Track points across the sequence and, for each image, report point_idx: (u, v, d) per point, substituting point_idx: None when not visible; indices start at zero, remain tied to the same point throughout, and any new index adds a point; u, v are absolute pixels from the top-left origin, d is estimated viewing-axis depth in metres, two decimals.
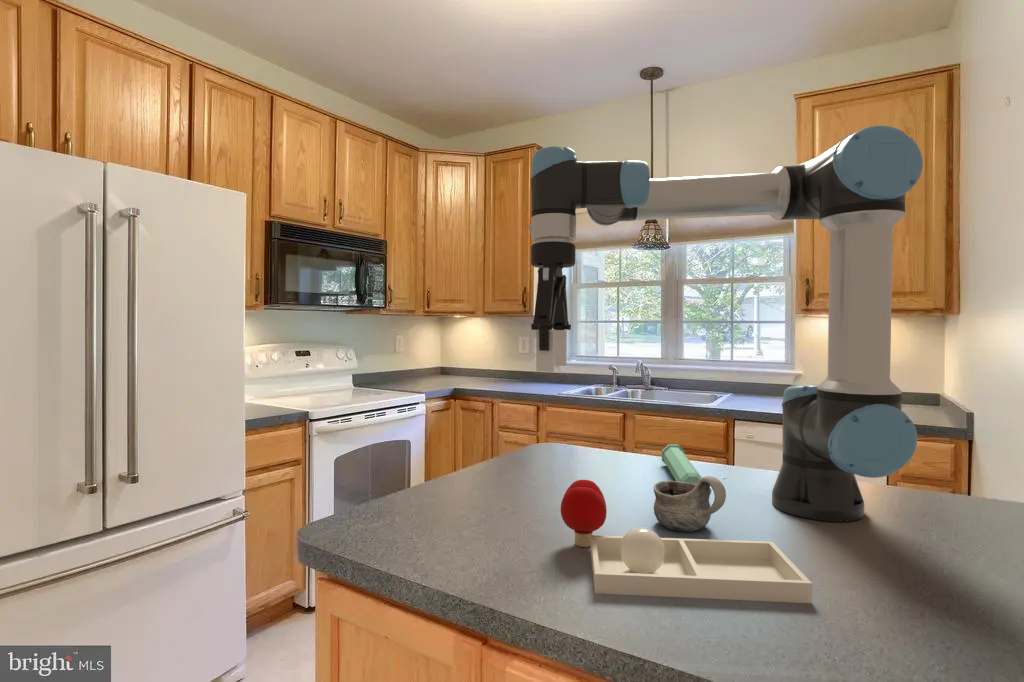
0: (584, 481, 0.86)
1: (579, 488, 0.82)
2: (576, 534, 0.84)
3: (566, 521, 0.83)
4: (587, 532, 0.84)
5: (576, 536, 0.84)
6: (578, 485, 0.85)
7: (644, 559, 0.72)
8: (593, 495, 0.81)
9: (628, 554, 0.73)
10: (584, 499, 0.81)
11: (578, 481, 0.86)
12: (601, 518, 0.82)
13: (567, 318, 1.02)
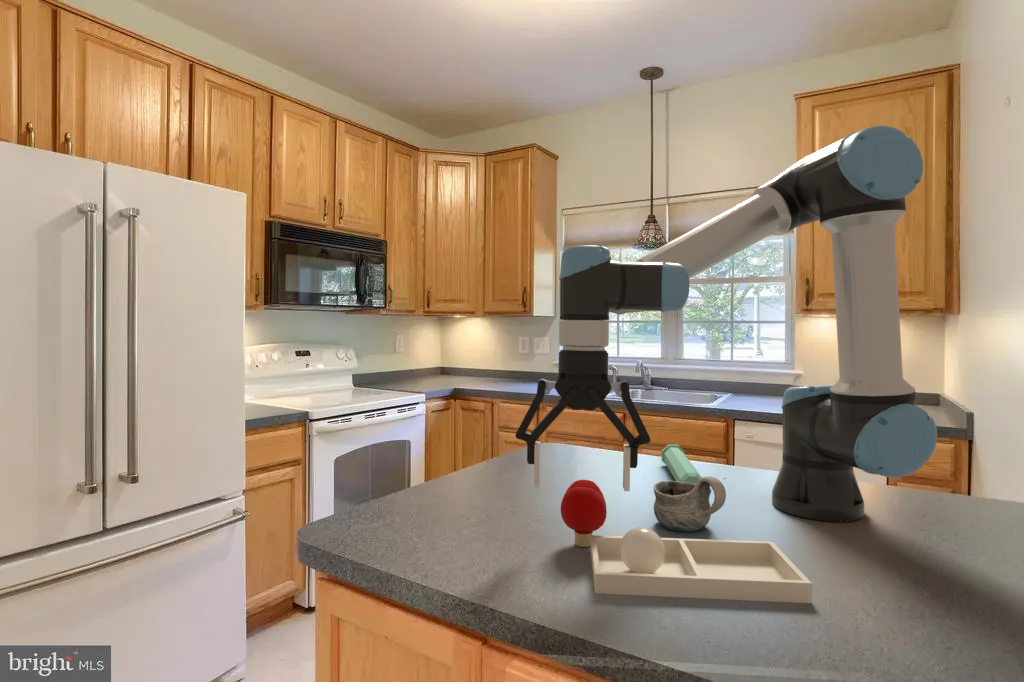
0: (584, 481, 0.86)
1: (579, 488, 0.82)
2: (576, 534, 0.84)
3: (566, 521, 0.83)
4: (587, 532, 0.84)
5: (576, 536, 0.84)
6: (578, 485, 0.85)
7: (644, 559, 0.72)
8: (593, 495, 0.81)
9: (628, 554, 0.73)
10: (584, 499, 0.81)
11: (578, 481, 0.86)
12: (601, 518, 0.82)
13: (644, 434, 0.82)
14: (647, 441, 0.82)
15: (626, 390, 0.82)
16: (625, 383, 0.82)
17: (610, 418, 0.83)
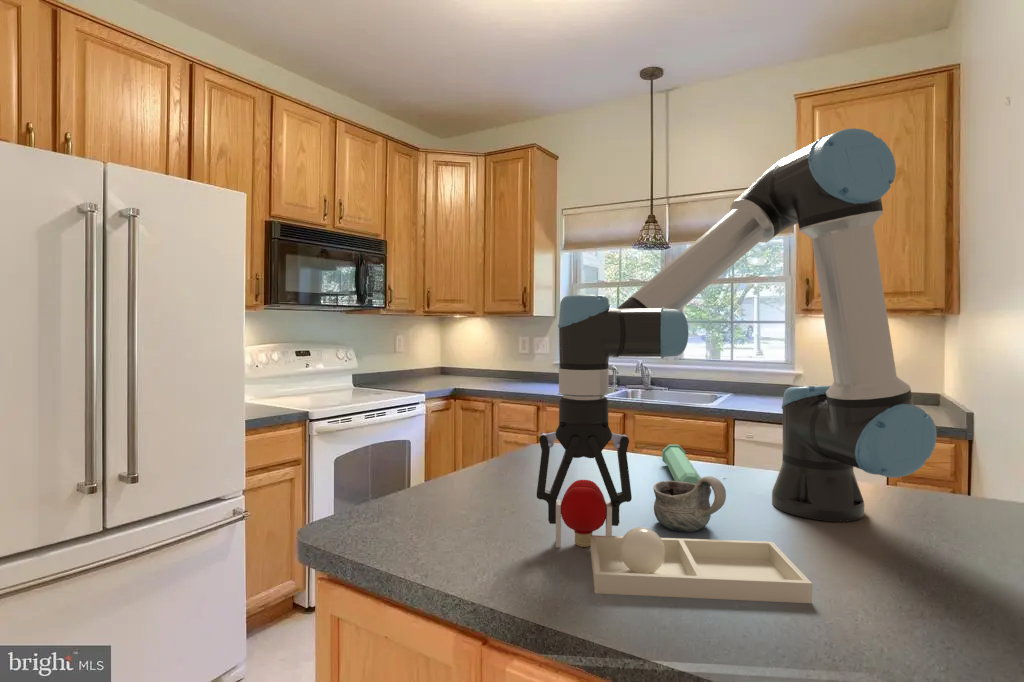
0: (584, 481, 0.86)
1: (579, 488, 0.82)
2: (576, 534, 0.84)
3: (566, 521, 0.83)
4: (587, 532, 0.84)
5: (576, 536, 0.84)
6: (578, 485, 0.85)
7: (644, 559, 0.72)
8: (593, 495, 0.81)
9: (628, 554, 0.73)
10: (584, 499, 0.81)
11: (578, 481, 0.86)
12: (601, 518, 0.82)
13: (627, 492, 0.83)
14: (628, 500, 0.83)
15: (625, 445, 0.83)
16: (626, 438, 0.82)
17: (601, 470, 0.83)
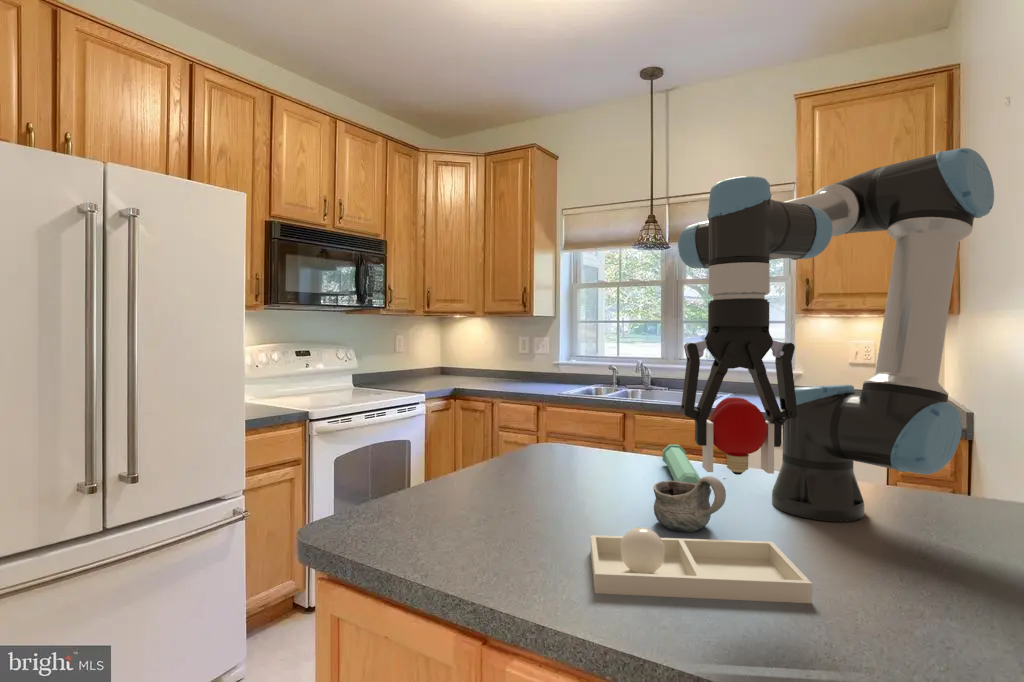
0: (736, 398, 0.75)
1: (737, 402, 0.71)
2: (730, 457, 0.73)
3: (722, 441, 0.71)
4: (744, 454, 0.73)
5: (730, 459, 0.73)
6: (730, 402, 0.74)
7: (644, 559, 0.72)
8: (755, 409, 0.70)
9: (628, 554, 0.73)
10: (747, 413, 0.69)
11: (728, 398, 0.75)
12: (764, 436, 0.70)
13: (792, 407, 0.71)
14: (793, 416, 0.71)
15: (789, 353, 0.71)
16: (791, 345, 0.71)
17: (761, 382, 0.72)
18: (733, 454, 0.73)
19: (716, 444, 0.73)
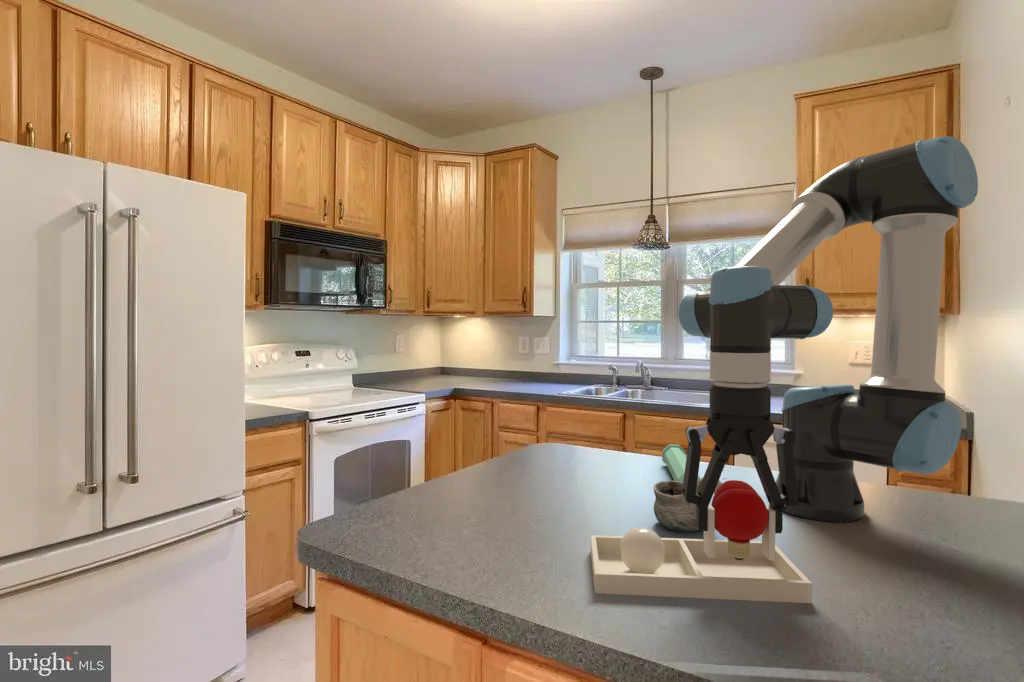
0: (737, 481, 0.75)
1: (739, 490, 0.71)
2: (732, 543, 0.73)
3: (723, 528, 0.72)
4: (745, 541, 0.73)
5: (731, 545, 0.73)
6: (731, 486, 0.74)
7: (644, 559, 0.72)
8: (757, 498, 0.70)
9: (628, 554, 0.73)
10: (748, 503, 0.69)
11: (729, 482, 0.75)
12: (765, 525, 0.71)
13: (793, 494, 0.72)
14: (794, 503, 0.72)
15: (791, 440, 0.72)
16: (792, 432, 0.71)
17: (762, 470, 0.72)
18: (734, 540, 0.73)
19: (717, 529, 0.73)
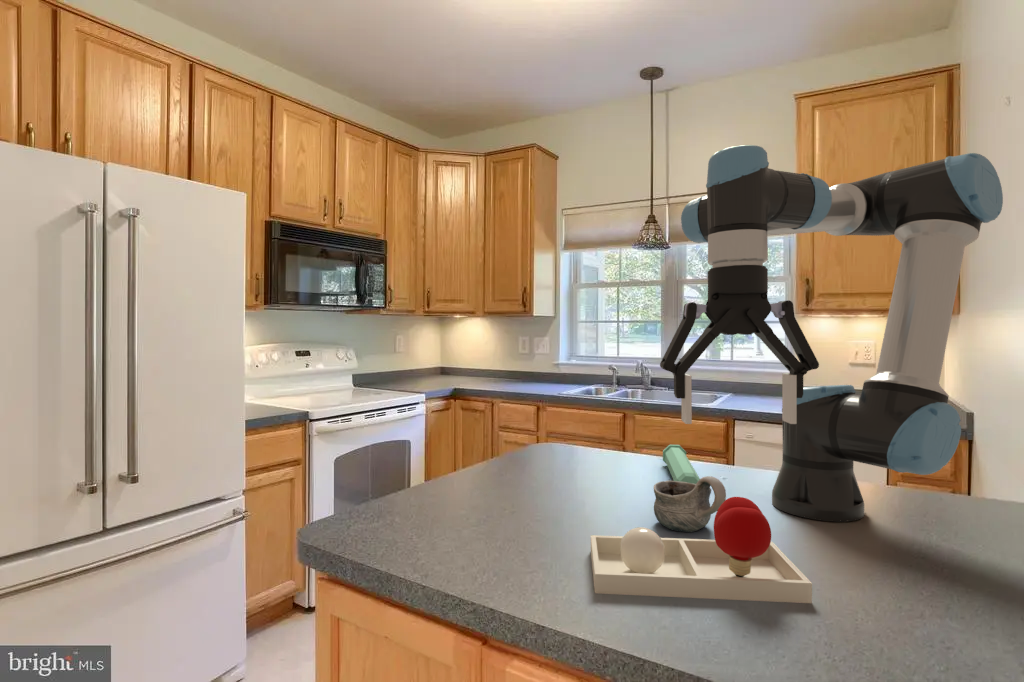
0: (741, 499, 0.75)
1: (744, 509, 0.71)
2: (733, 560, 0.73)
3: (726, 546, 0.71)
4: (747, 558, 0.73)
5: (733, 562, 0.73)
6: (735, 504, 0.74)
7: (644, 559, 0.72)
8: (761, 518, 0.70)
9: (628, 554, 0.73)
10: (753, 524, 0.69)
11: (733, 499, 0.75)
12: (768, 545, 0.70)
13: (811, 358, 0.73)
14: (815, 366, 0.73)
15: (790, 310, 0.73)
16: (789, 302, 0.73)
17: (772, 342, 0.73)
18: (736, 557, 0.73)
19: (720, 547, 0.73)
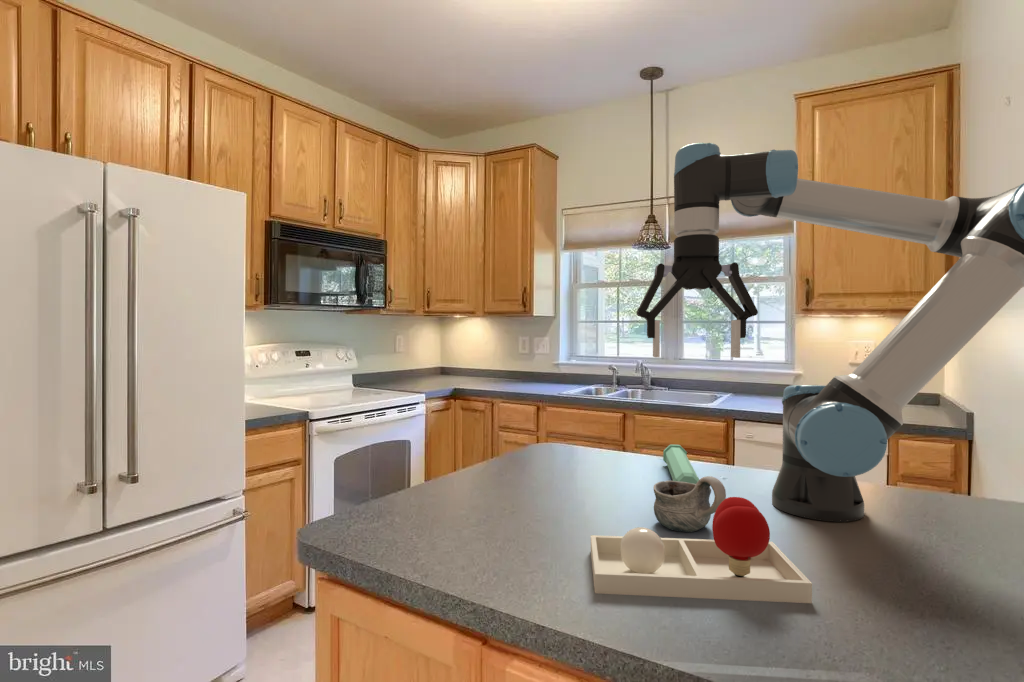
0: (738, 498, 0.75)
1: (742, 508, 0.71)
2: (733, 560, 0.73)
3: (725, 546, 0.72)
4: (746, 558, 0.73)
5: (733, 563, 0.73)
6: (733, 503, 0.74)
7: (644, 559, 0.72)
8: (760, 516, 0.70)
9: (628, 554, 0.73)
10: (751, 521, 0.69)
11: (731, 499, 0.75)
12: (767, 543, 0.71)
13: (752, 307, 0.95)
14: (755, 313, 0.95)
15: (736, 269, 0.95)
16: (735, 263, 0.95)
17: (722, 294, 0.95)
18: (736, 557, 0.73)
19: (719, 547, 0.73)
